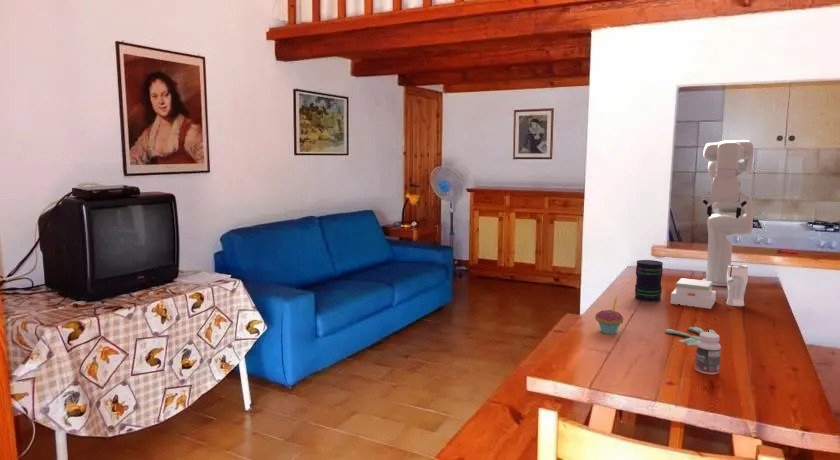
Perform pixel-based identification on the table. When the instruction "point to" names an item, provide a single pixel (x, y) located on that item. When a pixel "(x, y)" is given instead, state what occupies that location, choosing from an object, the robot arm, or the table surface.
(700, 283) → the step stand
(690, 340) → the green flat branched shape
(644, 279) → the storage jar
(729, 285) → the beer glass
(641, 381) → the table surface
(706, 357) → the pill bottle
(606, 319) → the cupcake
